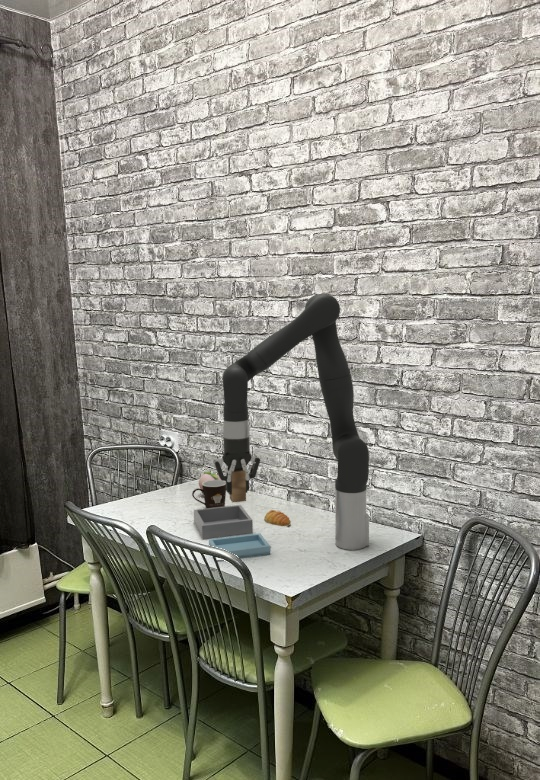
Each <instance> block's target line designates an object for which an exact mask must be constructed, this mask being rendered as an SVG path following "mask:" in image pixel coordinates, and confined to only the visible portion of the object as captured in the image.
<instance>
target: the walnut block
mask: <svg viewBox="0 0 540 780" xmlns="http://www.w3.org/2000/svg"><path fill="white" fill-rule="evenodd" d="M231 471H232V470H231ZM231 482H232V494H230V495H229V500H230V501H231V503H240V502H247V493H246V471H243V470H235V471H234V472H232V475H231Z"/></svg>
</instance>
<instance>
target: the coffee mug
mask: <svg viewBox="0 0 540 780" xmlns="http://www.w3.org/2000/svg"><path fill="white" fill-rule="evenodd" d="M202 487H203V489H200V487H199V488H195V489H194V490H193V491H192V493H191V496H192V498H193V499H194V500H195V501H197V502H198V503H200V504H203V505H204V506H205V509H206V508H215V507H224V506H226V495H227V493H226V492H227V491H226V481H222V480H209V481H205V482H203V483H202ZM196 491H200V492H201V493H202V494H203V499H204V502H203V501H201V500H200V499H198V498H197V497H196V496H195V493H196Z"/></svg>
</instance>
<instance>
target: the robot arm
mask: <svg viewBox="0 0 540 780" xmlns="http://www.w3.org/2000/svg"><path fill="white" fill-rule="evenodd" d="M340 314H341V305H340V303H339V301H338V299H337V298H336V297H334V296H333V295H330V294H327V293H319V294H317V293H316V294H314V295H312V296H311V297H310V298H308V299H307V301H306V303H305V306H304V309H303V311H302V312H301V313H299V315H297V317H296V318H294V319H293V320H291V322H289V323H287V324H286V325H285V326H283V327H282V328H280V329H279V330H277V331H275V332H274V333H272V334H271V335H269V336H268V337H266V338H264V340H263V341H261V342H259V343H258V344H257V345H255V346H254V347H253V348H252V349H251V350H250V351H248V352H247V354H245V355H244V356H242V357H240V358H239V359H237V360H236V361H234V362H233V363H232V364H230V365H228V366H227V367H226V369H225V370H224V371H223V373H222V378H221V379H222V386H223V389H222V390H223V401H224V402H223V424H222V425H223V427H222V435H223V436H222V438H223V441H222V442H223V455H222V457H221V458H219V459H214V460H213V464H214V467H215V471H216V473H217V475H219V478H220V479H221V480H222V481H226V492H227V493H228V495H229V496H230V494H232V482H231V475H232V472H234V471H235V470H243V471H246V494H248V491H250V480H251V479H254V478H256V475H257V473H258V472H257V471H258V469H259V465H260V463H261V458H260V457H258V456H252V454H251V448H250V423H249V407H248V393H249V392H248V391H249V390H248V389H249V387H248V386H249V381H251V380H252V379H254V378H255V377H256V376H257V375H258V374H260V373H264V372H265V371H267V370H268V368H270V367H272V366H273V365H274V364H275V363H276V362H279V360H281V359H282V358H283V357H284V356H285V355H287V354H288V353H289V352H290V351H291V350H292V349H294V348H295V347H297V345H299V344H300V343H302V342H303V341H304V340H306V339H307V338H309V337H310V336H311V337H312V340H313V344H314V352H315V361H316V366H317V367H316V368H317V375H318V381H319V384H320V390H321V393H322V398H323V401H324V404H325V405H324V406H325V409H326V413H327V415H328V419H329V425H330V433H331V446H332V452H333V455H334V457H335V458H336V460H337V476H336V479H335V480H334V481H335V483H334V487H335V488H334V492H335V493H334V497H335V499H334V500H335V501H334V502H335V509H334V512H335V516H334V517H335V518H334V519H335V520H334V521H335V522H334V524H335V525H334V526H335V527H334V529H335V530H334V531H335V532H334V533H335V535H334V539H335V545H336V547H338V548H340V549H343V550H349V551H355V550H356V551H357V550H362V549H364V548H365V547H369V546H370V515H369V514H368V512H367V484H368V480H369V474H370V473H369V471H370V469H369V468H370V453H369V452H370V451H369V448H368V447H369V446H368V445H367V444H366V442H365V441H364V440H363V439H361V438H360V435H359V432H358V429H357V426H356V425H357V424H356V422H355V418H354V402H355V400H354V396H355V395H354V393H355V392H354V391H355V390H354V384H353V380H352V379H353V378H352V375H351V369H350V365H349V363H348V361H347V360H348V359H347V358H346V355H345V352H344V350H343V347H342V345H341V343H340V342H341V341H340V340H339V336H338V330H337V329H338V328H337V320H338V318H339V317H340ZM250 461H251V464H252V465H251V468H250V471H249V470H248V467H247V466H248V465H249V464H250ZM223 463H224V464H225V465H226V473H225V475H224V472H223V470H222V467H223ZM231 470H232V471H231Z"/></svg>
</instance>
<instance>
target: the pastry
mask: <svg viewBox="0 0 540 780" xmlns="http://www.w3.org/2000/svg"><path fill="white" fill-rule="evenodd" d="M264 522H265V523H267V524H270V525H274V526H278V527H288V526H290V525H291V522H292V520H290V517H288V515H287V514H285V513H284V512H282V511H279V510H278V511H276V510H275V509H271V510H269V511H268V512H266V514H265V515H264Z"/></svg>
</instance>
